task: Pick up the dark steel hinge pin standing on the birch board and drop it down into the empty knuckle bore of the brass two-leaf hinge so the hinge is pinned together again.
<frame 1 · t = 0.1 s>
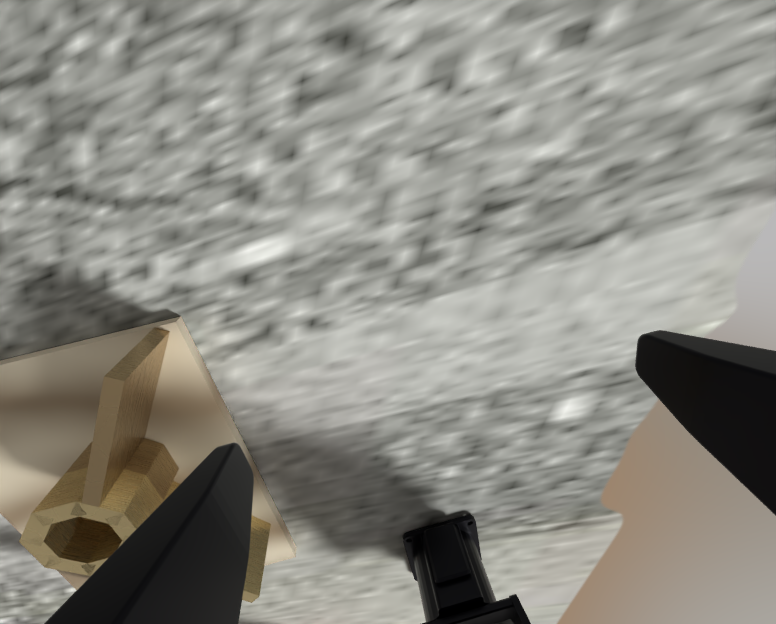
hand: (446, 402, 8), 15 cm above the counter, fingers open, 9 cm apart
mounting board: (136, 482, 25), on the counter
hinge: (136, 458, 24), resting on mounting board
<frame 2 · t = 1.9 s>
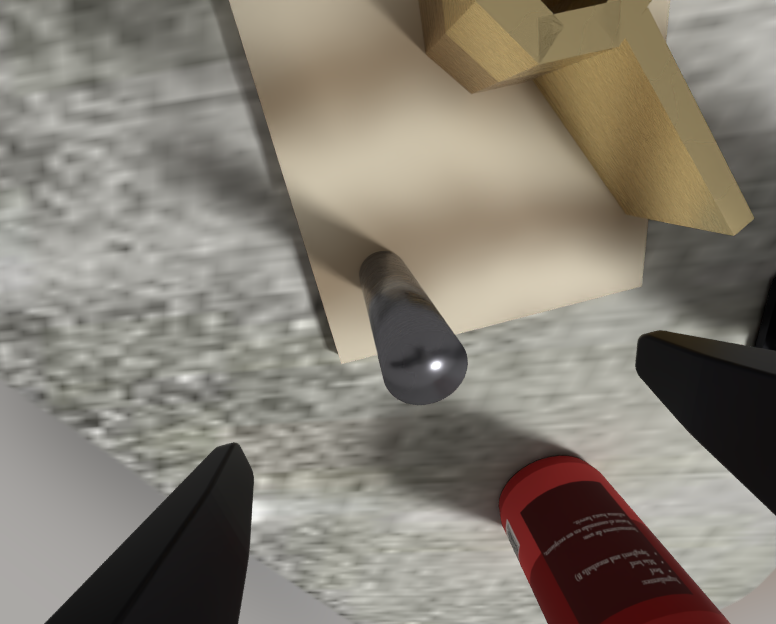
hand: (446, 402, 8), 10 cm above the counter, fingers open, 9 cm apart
pin: (383, 274, 16), point 1 cm above the counter, touching mounting board
canned food: (545, 491, 26), on the counter
mounting board: (465, 76, 14), on the counter
hinge: (484, 10, 14), resting on mounting board
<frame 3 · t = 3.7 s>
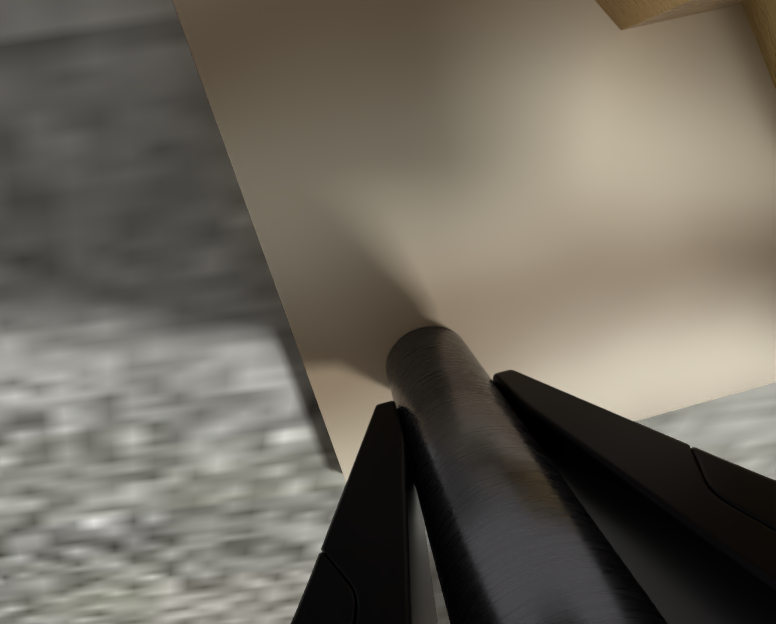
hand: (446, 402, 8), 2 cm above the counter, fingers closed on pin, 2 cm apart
pin: (427, 364, 9), point 1 cm above the counter, touching gripper, mounting board
mounting board: (600, 0, 7), on the counter
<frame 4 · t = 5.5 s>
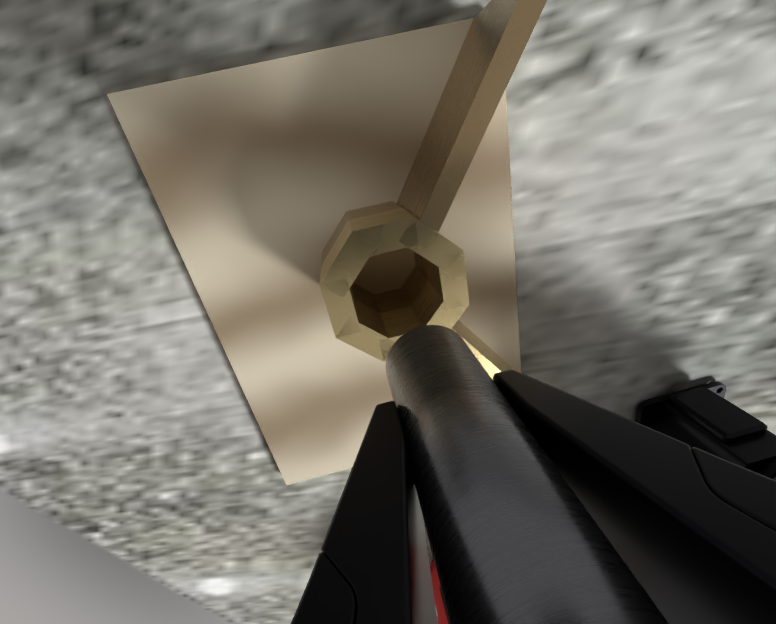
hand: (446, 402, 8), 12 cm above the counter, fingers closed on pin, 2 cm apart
pin: (427, 363, 9), point 11 cm above the counter, touching gripper
canned food: (469, 561, 31), on the counter
mounting board: (368, 295, 20), on the counter
hinge: (378, 256, 19), resting on mounting board
when the fingers open (7 cm above the counter, at t = 7.3 s): pin drops 4 cm, resting on mounting board.
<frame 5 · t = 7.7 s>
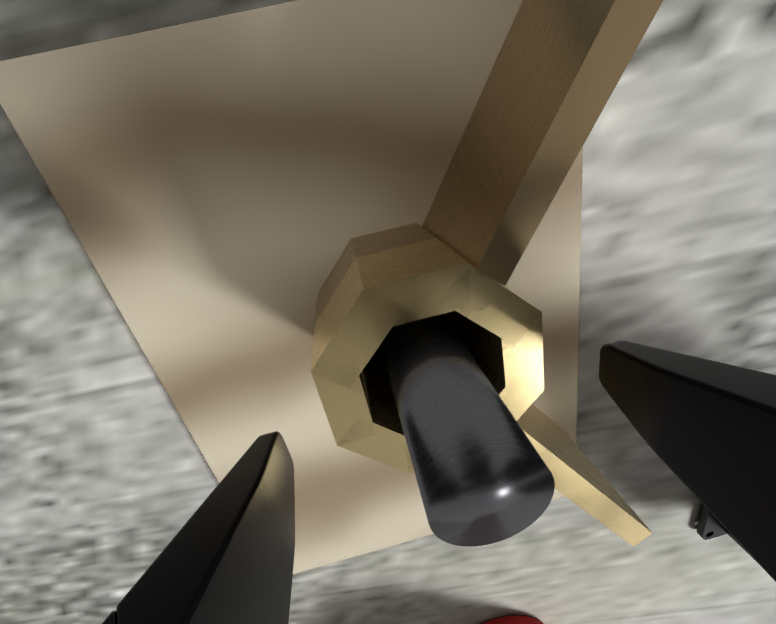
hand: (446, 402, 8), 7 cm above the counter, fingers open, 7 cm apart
pin: (399, 303, 13), point 1 cm above the counter, touching mounting board
mounting board: (381, 346, 15), on the counter
hinge: (395, 295, 14), resting on mounting board
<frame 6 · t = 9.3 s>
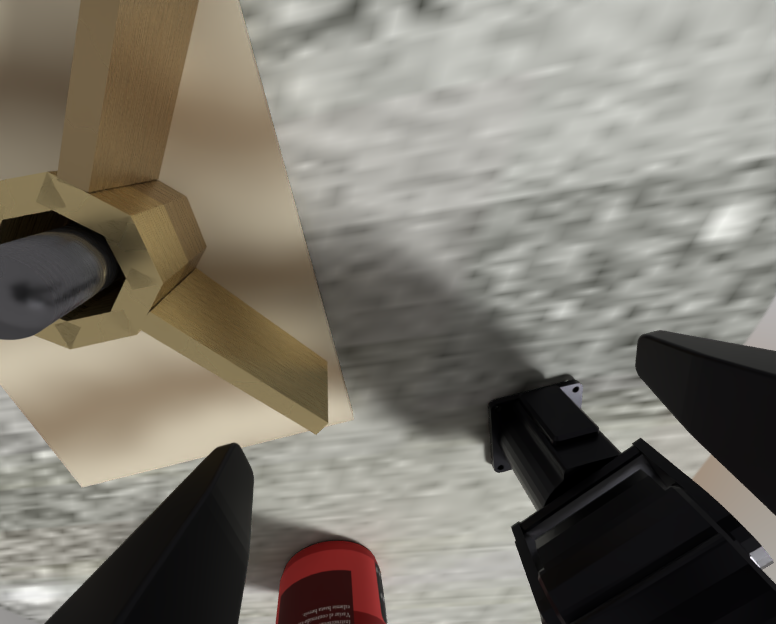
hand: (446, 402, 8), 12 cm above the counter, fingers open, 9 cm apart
pin: (134, 235, 16), point 1 cm above the counter, touching mounting board
canned food: (331, 566, 29), on the counter
mounting board: (141, 276, 17), on the counter
hinge: (143, 231, 17), resting on mounting board
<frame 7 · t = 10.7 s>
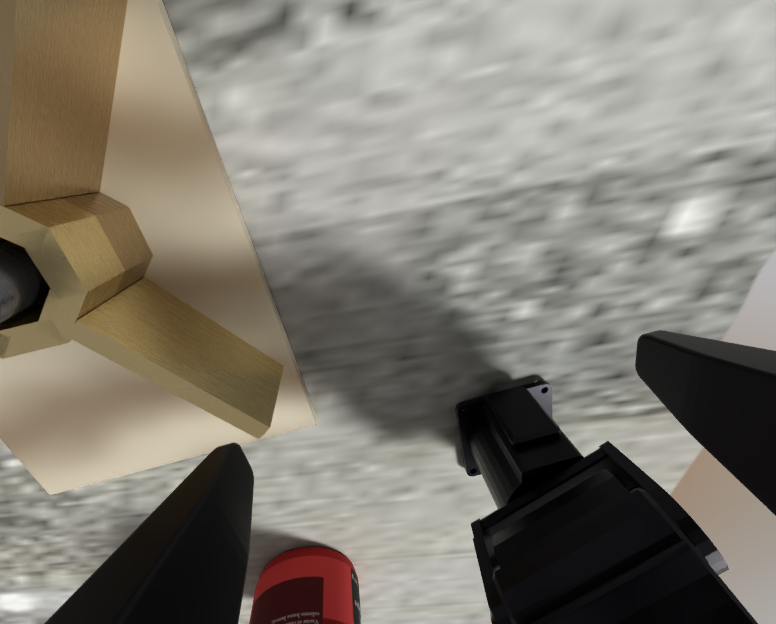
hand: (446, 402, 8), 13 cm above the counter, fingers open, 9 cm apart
pin: (81, 246, 16), point 1 cm above the counter, touching mounting board
canned food: (309, 573, 29), on the counter
mounting board: (93, 286, 18), on the counter
hinge: (92, 242, 17), resting on mounting board
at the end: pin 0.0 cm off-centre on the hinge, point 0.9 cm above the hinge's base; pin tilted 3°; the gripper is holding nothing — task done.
